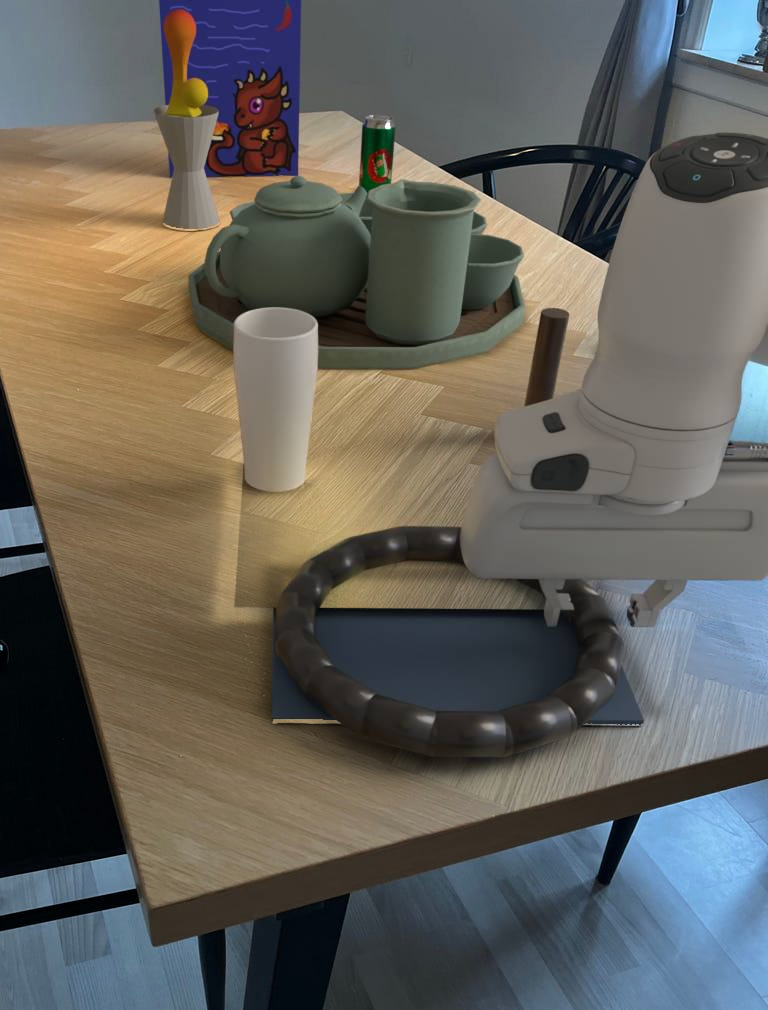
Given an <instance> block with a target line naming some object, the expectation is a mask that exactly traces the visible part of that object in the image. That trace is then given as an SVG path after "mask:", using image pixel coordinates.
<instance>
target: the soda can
mask: <svg viewBox="0 0 768 1010" xmlns="http://www.w3.org/2000/svg"><path fill="white" fill-rule="evenodd" d="M394 120H395V119H394V117H393V116H391V115H385V114H371V115H366V116H365V117H364V121H363V123H362V125H361V139H360V157H359V158H360V159H359V161H360V162H359V175H358V176H359V177H358V186H361V187H363V188H364V189H365V190H366V192H367V193H368V192H369V191H370V190H372V189H374V188H377V187H379V186H381V185H385V184H392V179H393V167H394V153H395V139H396V127H397V126H396V125H395V122H394Z"/></svg>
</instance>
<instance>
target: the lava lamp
mask: <svg viewBox="0 0 768 1010" xmlns="http://www.w3.org/2000/svg"><path fill="white" fill-rule="evenodd" d="M164 33H165V37H166V40H167V43H168V46H169V49H170V54H171V59H172V63H173V87H172V95H171V99H170V102H169V105H165V104H164V105H161V106H157V107H156V108H154V109H153V113H154V117H155V119H156V123H157V126H158V127H159V131H160V134H161V136H162V139H163V141H164V144H165V147H166V149H167V152H169V155H170V158H171V161H172V163H173V166H174V172H173V176H172V178H171V181H170V186H169V189H168V190H169V191H168V194H167V200H166V204H165V209H164V213H163V217H162V222H163V223H165V224H166V225H169V226H171V227H176V228H183V229H203V228H208V227H211V226H215V225H217V224H218V223H219V222H221V219H220V217H219V213H218V209H217V206H216V203H215V200H214V197H213V193H212V191H211V187H210V184H209V181H208V177H206V174H205V171H204V166H205V162H206V158H207V154H208V151H209V147H210V143H211V140H212V136H213V132H214V129H215V125H216V121H217V117H218V113H219V110H218V109H217V108H215V107H212V106H208V105H204V104H205V102H206V101H207V98H208V89H207V86H206V84H205V83H204V82H203V81H202V80H200V79H198V78H191V79H189V80H187V63H188V59H189V54H190V50H191V47H192V44H193V41H194V38H195V35H196V24H195V21H194V19H193V17H192V16H191V15H190V14H189V13H188V12H186V11H184V10H180V9H178V10H174V11H172V12H170V13H169V14H168V15H167V17H166V19H165V22H164ZM163 223H162V224H163Z"/></svg>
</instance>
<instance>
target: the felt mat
mask: <svg viewBox="0 0 768 1010" xmlns="http://www.w3.org/2000/svg"><path fill="white" fill-rule="evenodd" d="M272 611H273V613H272V614H273V616H272V617H273V619H272V678H271V679H272V681H271V683H272V686H271V692H272V694H271V720H272V719H323V720H335V719H334V718H333V717H331V716H330V715H328V714H327V713H325V712H324V711H322V710H321V709H319V708H318V707H316V706H315V705H313V704H312V703H310V702H309V701H308V700H306V699H305V697H304V696H303V695H302V693H301V692H300V690H299V688H298V687H297V685H296V684H295V682H294V680H293V679H292V677H291V676H290V674H289V672H288V671H287V669H286V668H285V666H284V664H283V663H282V661H281V660H280V658H279V657H278V655H277V652H276V648H275V631H276V606H273V610H272ZM316 639H317V640H318V642H319V643H320V645H321V646H322V648H323V649H324V650H325V652H326V653H327V655H328V656H329V658H330V659H331V661H332V662H333V664H334V665H335V667H336V668H338V669H339V670H341V671H342V672H344V673H345V674H347V675H349V676H350V677H352V678H353V679H355V680H356V681H358V682H360V683H361V684H363V685H364V686H366V687H367V688H369V689H370V690H372V691H374V692H375V693H377V694H379V695H382V696H386V697H389V698H393V699H396V700H400V701H403V702H407V703H411V704H414V705H418V706H421V707H425V708H428V709H432V710H435V711H499V710H503V709H506V708H509V707H513V706H516V705H520V704H523V703H526V702H530V701H533V700H536V699H540V698H543V697H546V696H547V695H548V694H550V693H551V692H552V691H553V690H554V689H555V688H557V687H558V686H559V685H560V684H561V683H563V682H564V681H565V680H566V679H567V678H568V677H570V676H571V675H572V674H573V671H574V668H575V664H576V661H577V657H578V654H579V650H580V648H579V645H578V642H577V640H576V637H575V634H574V631H573V629H572V626H571V625H570V627H548V626H547V623H546V620H545V617H544V608H543V609H542V608H541V609H540V608H435V607H434V608H432V607H431V608H430V607H429V608H425V607H421V608H420V607H413V608H412V607H411V608H410V607H320V608H319V609H318V611H317V612H316ZM633 692H634V691H633V689H632V687H631V685H630V682H629V680H628V677H627V675H626V672H625V670H624V667H623V666H622V664H621V667H620V671H619V676H618V680H617V684H616V689H615V692H614V695H613V697H612V698H611V699H610V701H609V702H608V703H607V704H605V705H604V706H603V707H602V708H601V709H600V710H599V711H598V712H597V713H596V714H594V715H593V716H592V717H591V718H590V719H589V720H588V721H587V722H586V723H588V724H591V723H592V724H617V725H618V724H620V725H622V724H625V725H627V724H630V725H632V724H635V725H636V724H639V725H641V724H643V725H644V722H645V718H644V715H643V714H642V712H641V709H640V707H639V704H638V702H637V699H636V696H635V695H634V693H633ZM586 723H585V724H586Z"/></svg>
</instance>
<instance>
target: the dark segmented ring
mask: <svg viewBox="0 0 768 1010" xmlns="http://www.w3.org/2000/svg"><path fill="white" fill-rule="evenodd" d="M461 528H462V526H455V525H454V526H453V525H452V526H448V525H447V526H446V525H444V526H443V525H442V526H439V525H437V526H436V525H398V526H393V527H390V528H385V529H380V530H375V531H371V532H366V533H363V534H358V535H354V536H349V537H346V538H344V539H343V540H341V541H339V542H337V543H335V544H334V545H332V546H330V547H329V548H326V549H325V550H323V551H321V552H320V553H318V554H316V555H315V556H313V557H311V558H310V559H308V560H306V561H304V562H303V563H302V565H301V566H300V567H299V568H298V570H297V571H296V573H295V574H294V575H293V577H292V578H291V580H290V581H289V583H288V584H287V585H286V587H285V588H284V589H283V591H282V592H281V594H280V595H279V597H278V599H277V600H276V603H275V604H276V605H275V607H276V631H275V648H276V652H277V655H278V657H279V658H280V660H281V661H282V663H283V664H284V666H285V668H286V669H287V671H288V672H289V674H290V676H291V677H292V679H293V680H294V682H295V684H296V685H297V687H298V688H299V690H300V692H301V693H302V695H303V696H304V697H305V699H306V700H308V701H309V702H310V703H312V704H313V705H315V706H316V707H318V708H319V709H321V710H322V711H324V712H325V713H327V714H328V715H330V716H331V717H333V718H334V719H335V720H337V721H338V722H340V723H341V724H343V726H344V727H345V728H347V729H349V730H350V731H352V732H353V733H354V734H356V735H358V736H360V737H362V738H365V739H369V740H373V741H376V742H379V743H383V744H386V745H390V746H393V747H396V748H399V749H403V750H406V751H408V752H409V751H410V752H413V753H416V754H419V755H423V756H426V757H431V758H437V757H439V758H506V757H510V756H513V755H516V754H519V753H523V752H527V751H529V750H532V749H535V748H539V747H542V746H544V745H548V744H552V743H554V742H558V741H562V740H564V739H567V738H569V737H571V736H573V734H575V733H576V732H577V731H578V730H579V729H580V728H582V727H583V726H582V725H583V724H585V723H586V722H587V721H588V720H589V719H590V718H591V717H592V716H593V715H594V714H596V713H597V712H598V711H599V710H600V709H601V708H602V707H603V706H604V705H605V704H607V703H608V702H609V701H610V699H611V698H612V697H613V695H614V692H615V689H616V684H617V680H618V676H619V671H620V667H621V665H622V662H623V659H624V654H625V643H624V641H623V638H622V635H621V634H620V631H619V628H618V626H617V624H616V621H615V619H614V616H613V615H612V612H611V609H610V607H609V605H608V602H607V600H606V599H605V598H604V597H603V596H602V595H601V594H600V593H599V592H598V591H596V590H595V589H594V587H592V586H591V584H589V583H588V582H587V581H586V580H585V579H565V583H564V587H563V589H556V592H557V593H566V594H569V596H570V598H571V601H570V602H571V603H572V604H573V606H574V614H573V617H572V618H571V619H570V620H571V626H572V629H573V631H574V634H575V637H576V640H577V642H578V645H579V648H580V650H579V654H578V657H577V661H576V664H575V668H574V671H573V674H572V675H571V676H570V677H568V678H567V679H566V680H565V681H564V682H563V683H561V684H560V685H559V686H558V687H557V688H555V689H554V690H553V691H552V692H551V693H550V694H548V695H547V696H546V697H543V698H540V699H536V700H533V701H530V702H526V703H523V704H520V705H516V706H513V707H509V708H506V709H503V710H499V711H435V710H432V709H428V708H425V707H421V706H418V705H414V704H411V703H407V702H403V701H400V700H396V699H393V698H389V697H386V696H382V695H379V694H377V693H375V692H374V691H372V690H370V689H369V688H367V687H366V686H364V685H363V684H361V683H360V682H358V681H356V680H355V679H353V678H352V677H350V676H349V675H347V674H345V673H344V672H342V671H341V670H339V669H338V668H336V667H335V665H334V664H333V662H332V661H331V659H330V658H329V656H328V655H327V653H326V652H325V650H324V649H323V648H322V646H321V645H320V643H319V642H318V640H317V639H316V612H317V611H318V609H319V608H321V606H322V604H323V603H324V601H325V600H326V599H327V597H328V595H329V593H330V592H331V591H332V590H333V589H336V588H337V587H338V586H340V585H342V584H343V583H345V582H346V581H348V580H350V579H352V578H353V577H355V576H356V575H358V574H360V573H361V572H363V571H366V570H371V569H374V568H378V567H379V568H380V567H383V566H387V565H391V564H395V563H400V562H404V561H447V562H448V561H449V562H450V561H451V562H452V561H453V562H457V563H461V564H465V563H464V560H463V556H462V552H461V546H460V535H461ZM515 580H516V581H518V582H520V583H521V584H524V585H525V586H527V587H530V588H532V589H533V590H536V591H538V592H539V593H541V594H542V595H543V596H544V597H545V595H544V593H543V591H542V588H541V585H540V582H539V579H515Z"/></svg>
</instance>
